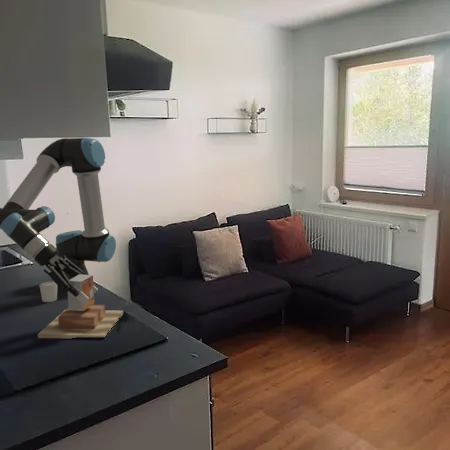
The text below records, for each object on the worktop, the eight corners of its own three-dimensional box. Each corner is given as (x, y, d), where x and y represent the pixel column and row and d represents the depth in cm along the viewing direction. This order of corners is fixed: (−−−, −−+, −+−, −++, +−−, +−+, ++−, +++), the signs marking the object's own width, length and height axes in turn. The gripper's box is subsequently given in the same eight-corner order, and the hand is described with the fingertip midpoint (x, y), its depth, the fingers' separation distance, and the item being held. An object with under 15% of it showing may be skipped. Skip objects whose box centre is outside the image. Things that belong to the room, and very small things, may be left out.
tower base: (65, 312, 168) (64, 299, 167) (123, 313, 167) (122, 300, 166) (37, 337, 146) (36, 322, 145) (104, 339, 145) (103, 323, 144)
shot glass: (36, 301, 180) (35, 285, 179) (48, 296, 187) (47, 280, 185) (51, 303, 178) (50, 286, 177) (62, 297, 185) (61, 281, 183)
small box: (83, 311, 151) (81, 281, 149) (68, 310, 152) (66, 280, 150) (95, 303, 159) (93, 274, 157) (80, 302, 160) (78, 273, 158)
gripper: (48, 251, 164) (94, 293, 166) (19, 266, 143) (71, 315, 145) (61, 236, 162) (107, 280, 164) (34, 250, 141) (87, 300, 144)
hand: (90, 296), depth 155 cm, fingers closed on small box, 8 cm apart
